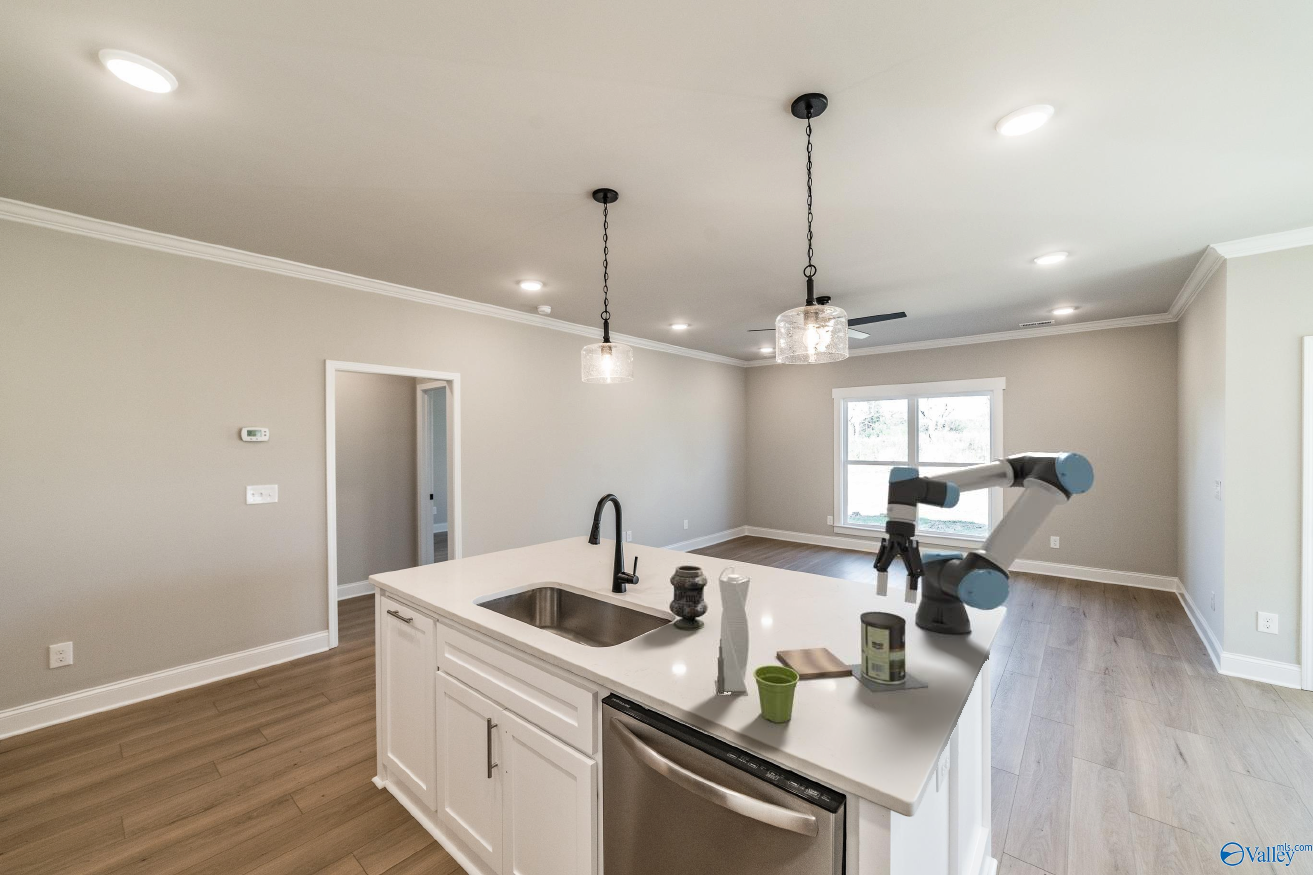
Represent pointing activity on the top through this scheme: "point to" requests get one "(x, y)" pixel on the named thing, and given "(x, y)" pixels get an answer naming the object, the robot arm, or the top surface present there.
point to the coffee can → (883, 647)
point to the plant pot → (776, 691)
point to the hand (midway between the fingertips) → (895, 599)
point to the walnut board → (814, 663)
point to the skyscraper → (733, 635)
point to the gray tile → (876, 687)
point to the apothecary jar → (688, 597)
